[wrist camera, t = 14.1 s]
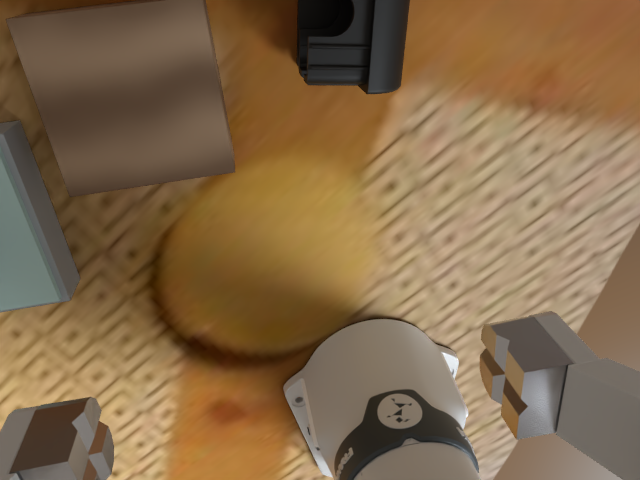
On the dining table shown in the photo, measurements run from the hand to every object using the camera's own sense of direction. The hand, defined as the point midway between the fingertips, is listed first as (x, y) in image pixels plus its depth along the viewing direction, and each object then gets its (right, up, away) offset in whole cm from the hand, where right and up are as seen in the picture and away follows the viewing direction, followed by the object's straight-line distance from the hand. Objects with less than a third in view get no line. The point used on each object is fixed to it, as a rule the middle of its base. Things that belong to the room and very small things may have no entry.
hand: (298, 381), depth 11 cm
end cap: (+2, +20, +28) cm, 35 cm away
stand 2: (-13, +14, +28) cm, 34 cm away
